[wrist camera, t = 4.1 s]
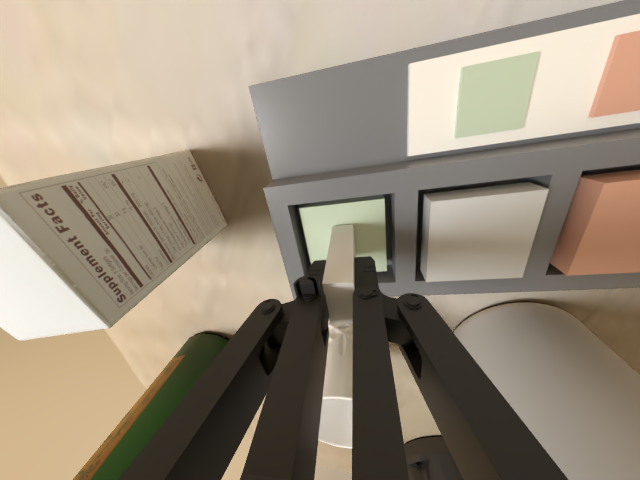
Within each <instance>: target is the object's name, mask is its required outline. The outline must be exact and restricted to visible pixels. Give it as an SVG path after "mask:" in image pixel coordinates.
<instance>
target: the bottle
mask: <svg viewBox="0 0 640 480" xmlns="http://www.w3.org/2000/svg"><path fill="white" fill-rule="evenodd" d="M228 342H229V340H227V339H225V338H222V337H220V336H218V335H211V334H203V333H201V334H198V335H195V336H192V337H190V338H189V339H188V341H187V342H186V343H185V344H184V345H183V347H182V348H181V349H180V350H179V351H178V353H177V354H176V355H175V356H174V358H173V359H172V360H171V361H170V362H169V364H168V365H167V366H166V367H165V368H164V370H163V371H162V372H161V373H160V375H159V376H158V377H157V378H156V379H155V381H154V382H153V383H152V384H151V385H150V387H149V388H148V389H147V390H146V392H145V393H144V394H143V395H142V397H141V398H140V399H139V400H138V401H137V402H136V404H135V405H134V406H133V407H132V408H131V410H130V411H129V412H128V413H127V415H126V416H125V417H124V418H123V419H122V421H121V422H120V423H119V424H118V425H117V427H116V428H115V429H114V430H113V431H112V433H111V434H110V435H109V437H108V438H107V439H106V440H105V441H104V443H103V444H102V445H101V446H100V447H99V448H98V450H97V451H96V452H95V453H94V455H93V456H92V457H91V458H90V459H89V461H88V462H87V463H86V464H85V465H84V467H83V468H82V469H81V471H80V472H79V473H78V474H77V475H76V476H75V478H74V479H73V480H118V479H119V478H120V476H121V475H122V474H123V473H124V471H125V470H126V469H127V468H128V466H129V465H130V464H131V463H132V461H133V460H134V459H135V458H136V456H137V455H138V454H139V453H140V452H141V450H142V449H143V448H144V447H145V445H146V444H147V443H148V442H149V440H150V439H151V438H152V437H153V435H154V434H155V433H156V432H157V430H158V429H159V428H160V427H161V425H162V424H163V423H164V422H165V420H166V419H167V418H168V417H169V415H170V414H171V413H172V412H173V410H174V409H175V408H176V407H177V405H178V404H179V403H180V402H181V400H182V399H183V398H184V397H185V395H186V394H187V393H188V392H189V391H190V389H191V388H192V387H193V386H194V384H195V383H196V382H197V381H198V379H199V378H200V377H201V376H202V374H203V373H204V372H205V371H206V369H207V368H208V367H209V366H210V364H211V363H212V362H213V361H214V359H215V358H216V357H217V356H218V354H219V353H220V352H221V351H222V349H223V348H224V347H225V346H226V344H227V343H228Z"/></svg>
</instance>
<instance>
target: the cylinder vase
mask: <svg viewBox="0 0 640 480" xmlns="http://www.w3.org/2000/svg"><path fill="white" fill-rule="evenodd" d="M453 333H454V334H455V336H456V337H457V338H458V339H459V341H460V342H461V343H462V344H463V346H464V347H465V348H466V350H467V351H468V352H469V353H470V355H471V356H472V357H473V358H474V360H475V361H476V362H477V364H478V365H479V366H480V367H481V369H482V370H483V371H484V372H485V374H486V375H487V376H488V378H489V379H490V380H491V381H492V383H493V384H494V385H495V387H496V388H497V389H498V390H499V392H500V393H501V394H502V395H503V397H504V398H505V399H506V401H507V402H508V403H509V404H510V406H511V407H512V408H513V409H514V411H515V412H516V413H517V415H518V416H519V417H520V418H521V420H522V421H523V422H524V423H525V425H526V426H527V427H528V429H529V430H530V431H531V432H532V434H533V435H534V436H535V438H536V439H537V440H538V441H539V443H540V444H541V445H542V446H543V448H544V449H545V450H546V452H547V453H548V454H549V455H550V457H551V458H552V459H553V460H554V462H555V463H556V464H557V466H558V467H559V468H560V469H561V471H562V472H563V473H564V474H565V476H566V477H567V478H568V480H640V375H639V374H638V373H637V372H636V371H635V370H634V369H633V368H631V367H630V366H629V365H628V364H627V363H626V362H625V361H624V360H622V359H621V358H620V357H619V356H618V355H617V354H616V353H615V352H614V351H612V350H611V349H610V348H609V347H608V346H607V345H606V344H605V343H604V342H602V341H601V340H600V339H599V338H598V337H597V336H596V335H595V334H594V333H592V332H591V331H590V330H589V329H588V328H587V327H586V326H585V325H583V324H582V323H581V322H580V321H579V320H578V319H577V318H575V317H574V316H573V315H571V314H570V313H568V312H566V311H564V310H562V309H559V308H557V307H554V306H550V305H546V304H540V303H528V302H521V303H509V304H503V305H499V306H495V307H491V308H488V309H485V310H483V311H480V312H478V313H476V314H474V315H473V316H471V317H469V318H468V319H466V320H465V321H464V322H462V323H461V324H460V325H459V326H458V327H457V328H456V329H455V330H454V332H453Z"/></svg>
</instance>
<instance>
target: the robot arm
mask: <svg viewBox="0 0 640 480" xmlns="http://www.w3.org/2000/svg"><path fill="white" fill-rule="evenodd" d="M293 286H294V290H295V293H296V299H295V300H294V301H291V302H288V303H284V304H281V303H280V301H279V300H276V299H268V300H265V301H263V302H261V303H260V304H259V305H258V306H257V307H256V308H255V310H254V311H253V312H252V313H251V315H250V316H249V317H248V318H247V320H246V321H245V322H244V323H243V325H242V326H241V327H240V328H239V330H238V331H237V332H236V333H235V334H234V336H233V337H232V338H231V339H230V341H229V342H228V343H227V344H226V346H225V347H224V348H223V349H222V351H221V352H220V353H219V354H218V356H217V357H216V358H215V359H214V361H213V362H212V363H211V364H210V366H209V367H208V368H207V369H206V371H205V372H204V373H203V374H202V376H201V377H200V378H199V379H198V381H197V382H196V383H195V384H194V386H193V387H192V388H191V389H190V391H189V392H188V393H187V394H186V395H185V397H184V398H183V399H182V400H181V402H180V403H179V404H178V405H177V407H176V408H175V409H174V410H173V412H172V413H171V414H170V415H169V417H168V418H167V419H166V420H165V422H164V423H163V424H162V425H161V427H160V428H159V429H158V430H157V432H156V433H155V434H154V435H153V437H152V438H151V439H150V440H149V442H148V443H147V444H146V445H145V447H144V448H143V449H142V450H141V452H140V453H139V454H138V455H137V456H136V458H135V459H134V460H133V461H132V463H131V464H130V465H129V466H128V468H127V469H126V470H125V471H124V473H123V474H122V475H121V476H120V478H119V479H118V480H221V479H222V477H223V475H224V473H225V471H226V469H227V467H228V465H229V463H230V462H231V460H232V458H233V456H234V454H235V452H236V450H237V448H238V446H239V445H240V443H241V441H242V439H243V437H244V435H245V433H246V431H247V429H248V428H249V426H250V424H251V422H252V420H253V418H254V416H255V414H256V412H257V410H258V409H259V407H260V405H261V403H262V401H263V399H264V397H265V395H266V393H267V395H266V398H265V401H264V404H263V408H262V411H261V414H260V417H259V421H258V424H257V427H256V430H255V434H254V437H253V440H252V443H251V447H250V450H249V453H248V456H247V460H246V463H245V466H244V469H243V473H242V475H241V478H240V480H314V474H315V465H316V456H317V446H318V436H319V427H320V417H321V408H322V398H323V389H324V379H325V369H326V360H327V350H328V341H329V327H328V321H330V324H352V323H353V368H352V480H568V478H567V477H566V476H565V474H564V473H563V472H562V471H561V469H560V468H559V467H558V466H557V464H556V463H555V462H554V460H553V459H552V458H551V457H550V455H549V454H548V453H547V452H546V450H545V449H544V448H543V446H542V445H541V444H540V443H539V441H538V440H537V439H536V438H535V436H534V435H533V434H532V432H531V431H530V430H529V429H528V427H527V426H526V425H525V423H524V422H523V421H522V420H521V418H520V417H519V416H518V415H517V413H516V412H515V411H514V409H513V408H512V407H511V406H510V404H509V403H508V402H507V401H506V399H505V398H504V397H503V395H502V394H501V393H500V392H499V390H498V389H497V388H496V387H495V385H494V384H493V383H492V381H491V380H490V379H489V378H488V376H487V375H486V374H485V372H484V371H483V370H482V369H481V367H480V366H479V365H478V364H477V362H476V361H475V360H474V358H473V357H472V356H471V355H470V353H469V352H468V351H467V350H466V348H465V347H464V346H463V344H462V343H461V342H460V341H459V339H458V338H457V337H456V336H455V334H454V333H453V332H452V330H451V329H450V328H449V327H448V325H447V324H446V323H445V321H444V320H443V319H442V318H441V316H440V315H439V314H438V313H437V311H436V310H435V309H434V307H433V306H432V305H431V304H430V302H429V301H428V300H427V299H426V298H425V297H424V296H421V295H419V294H415V293H406V294H403V295H401V296H400V297H399V298H398V299H396V298H391V297H388V296H386V295H384V294H383V293H382V292H381V291H380V289H379V285H378V279H377V272H376V266H375V260H374V259H373V258H372V257H371V256H366V257H356V247H355V238H354V228H353V224H352V225H342V226H333V227H332V232H331V238H330V243H329V249H328V254H327V260H316V261H314V262H313V263H312V264H311V265H310V268H309V272H308V275H307V276H303V277H300V278H298V279H297V280H296V281H295V282H294V283H293ZM388 341H390V342H393V343H397V344H398V346H399V348H400V350H401V352H402V354H403V356H404V358H405V360H406V362H407V364H408V366H409V369H410V371H411V373H412V375H413V377H414V379H415V381H416V383H417V385H418V387H419V389H420V391H421V393H422V395H423V397H424V399H425V401H426V404H427V406H428V408H429V410H430V412H431V414H432V416H433V418H434V420H435V422H436V424H437V426H438V428H439V430H440V432H441V434H442V436H443V437H427V438H421V439H417V440H413V441H411V442H408V443H406V444H405V445H404V442H403V435H402V429H401V422H400V416H399V409H398V403H397V397H396V390H395V384H394V377H393V371H392V364H391V358H390V351H389V345H388Z"/></svg>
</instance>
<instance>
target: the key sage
mask: <svg viewBox="0 0 640 480" xmlns="http://www.w3.org/2000/svg"><path fill="white" fill-rule="evenodd" d="M299 211H300V215H301V220H302V225H303V229H304V234H305V239H306V243H307V248H308V253H309V257H310V262H311V264H312V263H313V262H314V261H316V260H327V254H328V249H329V243H330V238H331V232H332V227H333V226H342V225H352V224H353V228H354V238H355V247H356V257H366V256H371V257H372V258H373V259H374V260H375V266H376V272H381V271H387V258H386V228H385V199H384V196H383V194H382V195H373V196H365V197H356V198H348V199H339V200H331V201H322V202H314V203H305V204H301V206H300V208H299Z"/></svg>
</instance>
